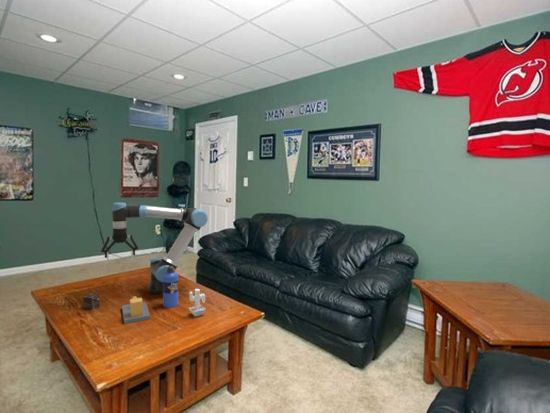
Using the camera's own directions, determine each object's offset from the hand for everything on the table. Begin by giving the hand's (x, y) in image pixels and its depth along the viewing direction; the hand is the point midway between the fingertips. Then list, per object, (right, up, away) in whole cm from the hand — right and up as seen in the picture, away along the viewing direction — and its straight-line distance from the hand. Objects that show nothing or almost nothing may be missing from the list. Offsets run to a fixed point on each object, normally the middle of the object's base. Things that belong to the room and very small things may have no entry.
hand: (120, 261), depth 189 cm
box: (-15, -27, -4) cm, 31 cm away
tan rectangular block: (+18, -27, -17) cm, 36 cm away
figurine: (+51, -29, -11) cm, 59 cm away
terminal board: (+15, -28, -12) cm, 34 cm away
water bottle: (+31, -28, +2) cm, 41 cm away
